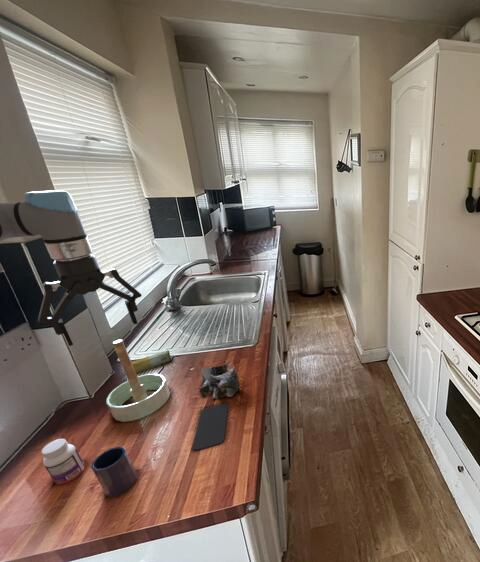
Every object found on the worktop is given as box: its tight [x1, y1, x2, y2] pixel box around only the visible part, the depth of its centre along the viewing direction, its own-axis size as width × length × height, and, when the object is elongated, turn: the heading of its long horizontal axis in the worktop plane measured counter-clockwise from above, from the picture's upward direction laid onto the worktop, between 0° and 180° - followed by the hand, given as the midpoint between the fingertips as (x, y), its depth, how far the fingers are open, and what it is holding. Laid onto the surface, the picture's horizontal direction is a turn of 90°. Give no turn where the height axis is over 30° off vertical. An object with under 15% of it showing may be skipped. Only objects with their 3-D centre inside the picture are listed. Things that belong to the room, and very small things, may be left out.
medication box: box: [131, 350, 173, 374], centre depth 110 cm, size 12×3×4 cm, turn 129°
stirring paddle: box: [112, 338, 149, 403], centre depth 89 cm, size 3×2×22 cm
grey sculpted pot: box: [198, 361, 241, 400], centre depth 97 cm, size 12×11×15 cm
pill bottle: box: [41, 438, 86, 485], centre depth 71 cm, size 5×5×10 cm
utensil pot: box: [90, 446, 138, 498], centre depth 68 cm, size 6×6×9 cm
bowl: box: [106, 373, 171, 423], centre depth 92 cm, size 14×14×6 cm
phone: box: [192, 403, 229, 451], centre depth 84 cm, size 7×1×15 cm
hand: (104, 332), depth 82 cm, fingers open, 13 cm apart
